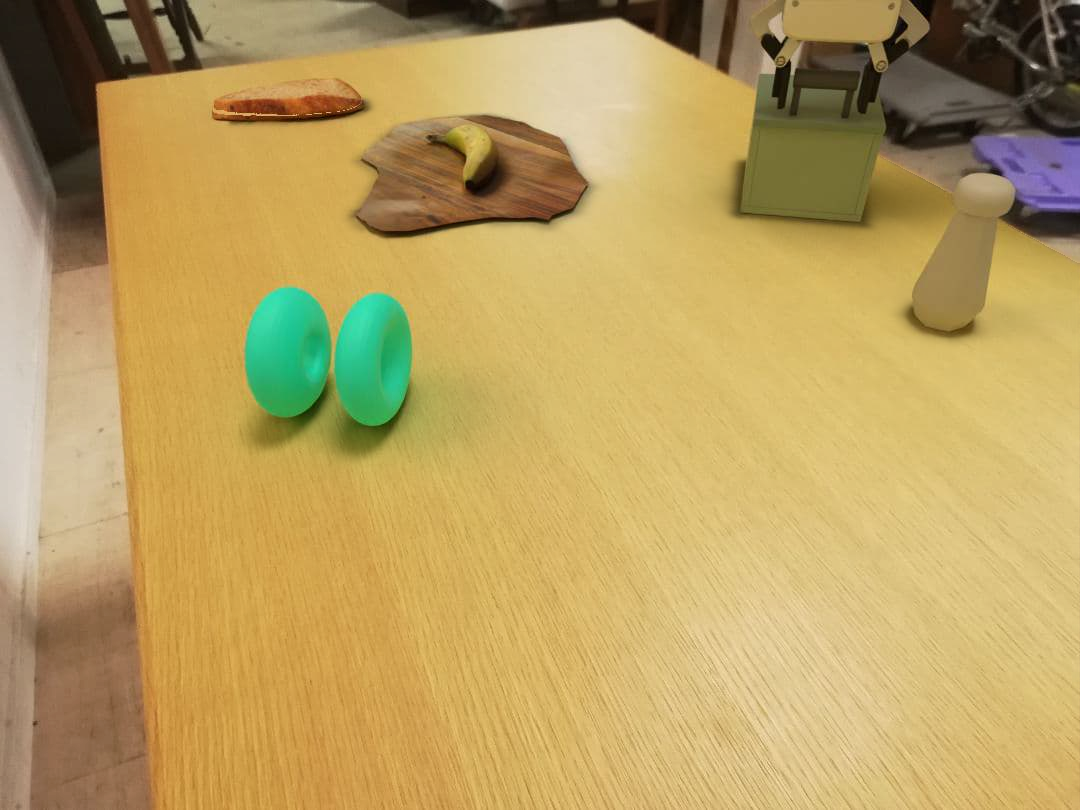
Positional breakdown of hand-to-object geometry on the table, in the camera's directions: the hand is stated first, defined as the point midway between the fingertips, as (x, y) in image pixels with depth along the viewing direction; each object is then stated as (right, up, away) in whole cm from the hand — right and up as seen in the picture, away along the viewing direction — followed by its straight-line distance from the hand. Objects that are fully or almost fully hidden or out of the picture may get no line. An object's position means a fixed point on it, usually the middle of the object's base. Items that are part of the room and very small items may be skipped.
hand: (820, 105), depth 78 cm
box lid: (+1, +2, +5) cm, 5 cm away
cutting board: (-37, -1, +19) cm, 42 cm away
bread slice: (-65, +13, +37) cm, 76 cm away
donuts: (-44, -30, -16) cm, 55 cm away
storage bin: (+2, -5, +12) cm, 13 cm away
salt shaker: (+7, -23, -9) cm, 25 cm away
